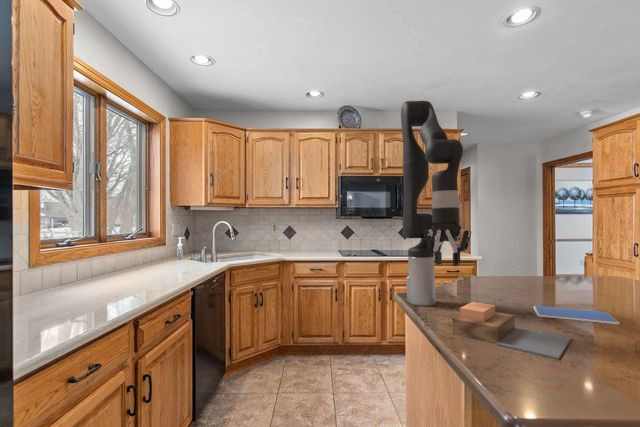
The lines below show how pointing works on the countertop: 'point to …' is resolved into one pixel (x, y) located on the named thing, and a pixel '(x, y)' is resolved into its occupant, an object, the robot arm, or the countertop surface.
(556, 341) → the mat
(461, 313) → the orange rectangular block
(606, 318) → the tablet computer
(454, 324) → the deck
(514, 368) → the countertop surface
